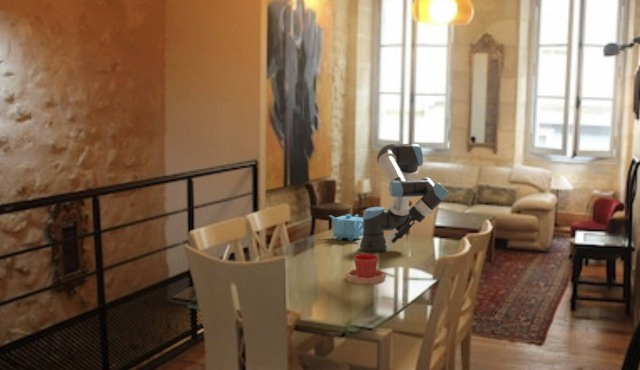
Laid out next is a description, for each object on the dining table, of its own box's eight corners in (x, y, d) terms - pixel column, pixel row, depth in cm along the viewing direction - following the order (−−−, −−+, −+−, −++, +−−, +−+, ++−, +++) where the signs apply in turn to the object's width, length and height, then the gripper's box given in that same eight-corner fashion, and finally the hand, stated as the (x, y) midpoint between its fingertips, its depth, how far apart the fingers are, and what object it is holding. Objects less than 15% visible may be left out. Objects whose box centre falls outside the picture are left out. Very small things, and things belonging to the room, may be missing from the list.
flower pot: (376, 280, 310) (376, 260, 309) (352, 279, 312) (352, 259, 311) (378, 274, 320) (379, 254, 319) (355, 273, 323) (356, 253, 321)
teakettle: (367, 241, 399) (367, 216, 397) (337, 242, 394) (337, 217, 392) (357, 234, 417) (357, 211, 415) (328, 236, 412) (328, 212, 410)
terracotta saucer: (372, 272, 328) (372, 266, 328) (392, 281, 312) (392, 275, 312) (339, 276, 321) (339, 270, 320) (357, 286, 304) (358, 280, 304)
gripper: (427, 222, 298) (393, 255, 302) (424, 211, 323) (393, 242, 327) (414, 210, 298) (380, 243, 302) (413, 201, 323) (381, 232, 326)
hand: (387, 243), depth 314 cm, fingers open, 13 cm apart
